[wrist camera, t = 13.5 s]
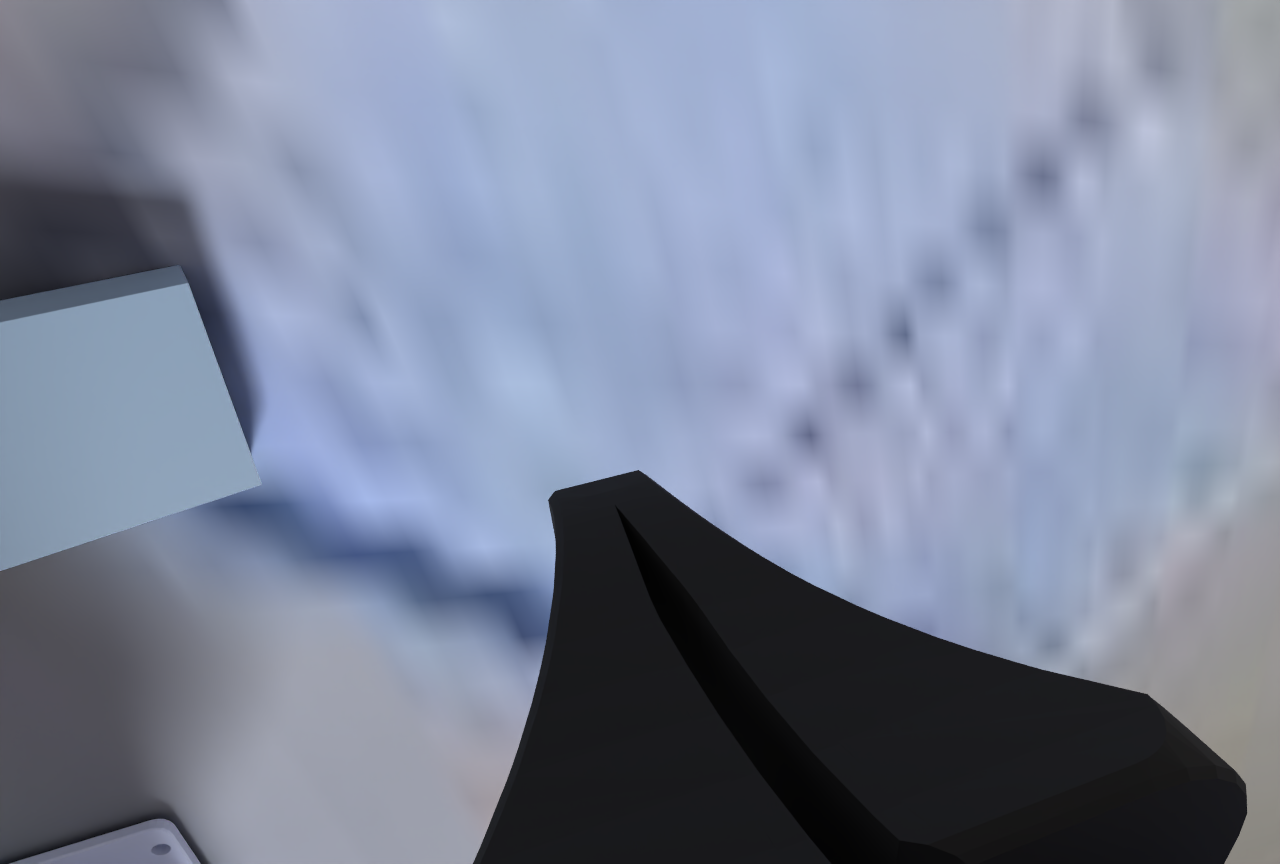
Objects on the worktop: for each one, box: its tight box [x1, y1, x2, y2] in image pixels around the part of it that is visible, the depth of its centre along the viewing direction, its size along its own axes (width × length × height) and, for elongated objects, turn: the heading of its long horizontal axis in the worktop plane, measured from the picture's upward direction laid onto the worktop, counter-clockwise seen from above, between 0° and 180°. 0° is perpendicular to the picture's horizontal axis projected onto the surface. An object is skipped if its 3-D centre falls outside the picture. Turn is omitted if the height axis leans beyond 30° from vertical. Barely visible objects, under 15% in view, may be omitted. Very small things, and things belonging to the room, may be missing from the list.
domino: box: [0, 265, 262, 571], centre depth 16 cm, size 5×2×8 cm
